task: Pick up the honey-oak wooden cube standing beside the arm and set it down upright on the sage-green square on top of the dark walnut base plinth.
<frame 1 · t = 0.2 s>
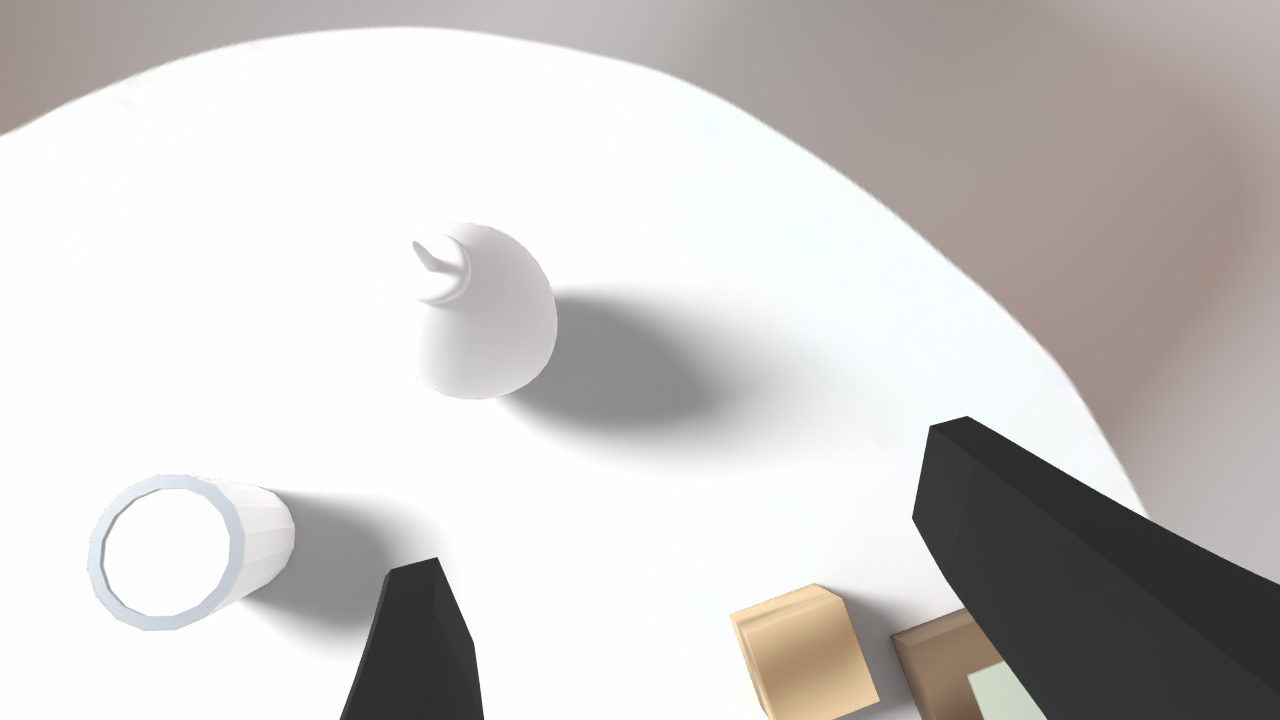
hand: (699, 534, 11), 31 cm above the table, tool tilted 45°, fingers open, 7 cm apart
oak cube: (787, 643, 40), on the table
white cup: (244, 537, 40), on the table
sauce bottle: (495, 341, 42), on the table
walnut base: (1020, 700, 40), on the table
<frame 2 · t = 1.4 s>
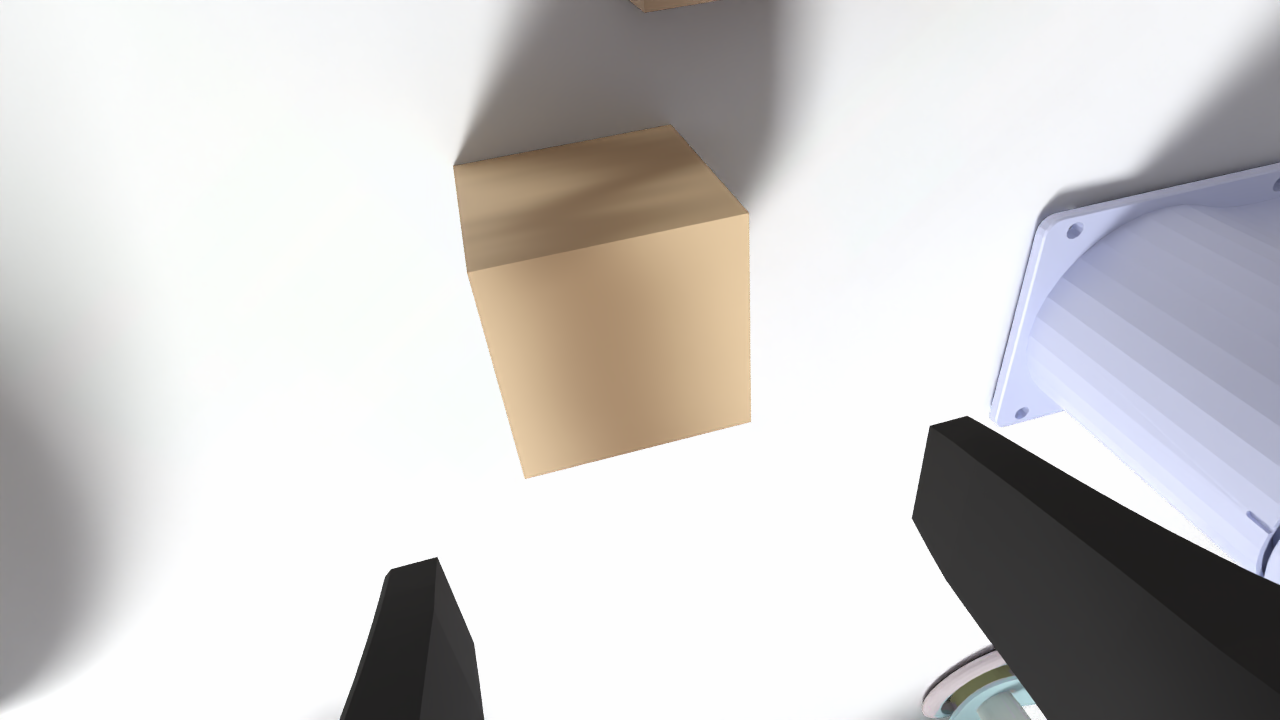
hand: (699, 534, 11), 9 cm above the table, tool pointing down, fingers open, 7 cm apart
oak cube: (580, 241, 18), on the table
pacifier: (974, 674, 39), on the table
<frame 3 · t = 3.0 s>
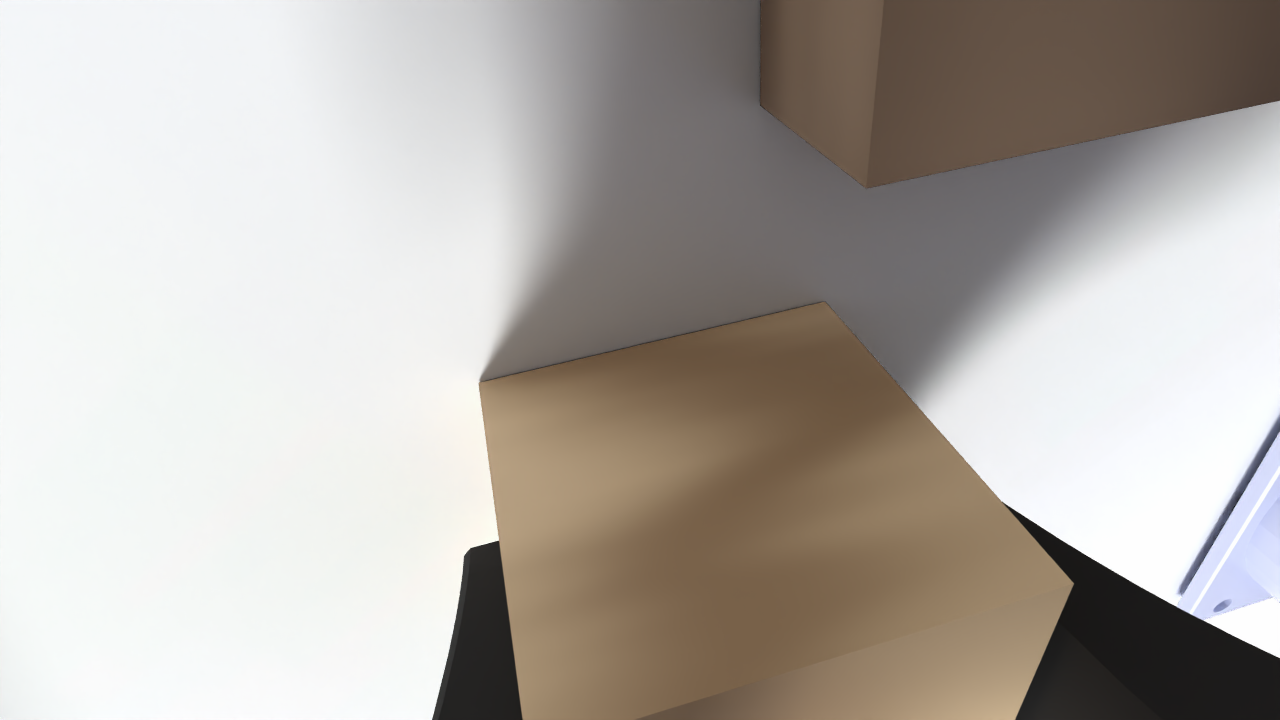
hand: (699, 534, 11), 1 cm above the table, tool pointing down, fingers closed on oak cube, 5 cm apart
oak cube: (670, 467, 12), on the table, touching gripper
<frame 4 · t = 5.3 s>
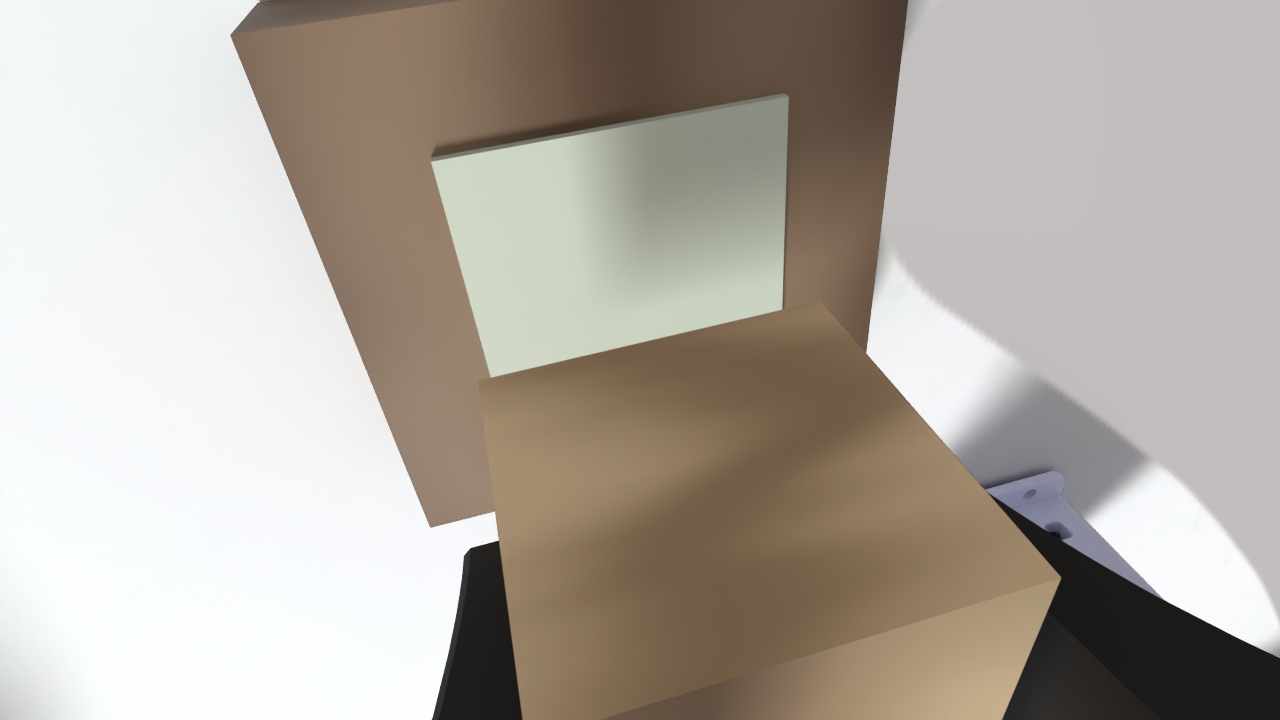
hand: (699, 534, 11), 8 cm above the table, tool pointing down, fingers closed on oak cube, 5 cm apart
oak cube: (668, 464, 12), point 7 cm above the table, touching gripper
walnut base: (605, 227, 17), on the table
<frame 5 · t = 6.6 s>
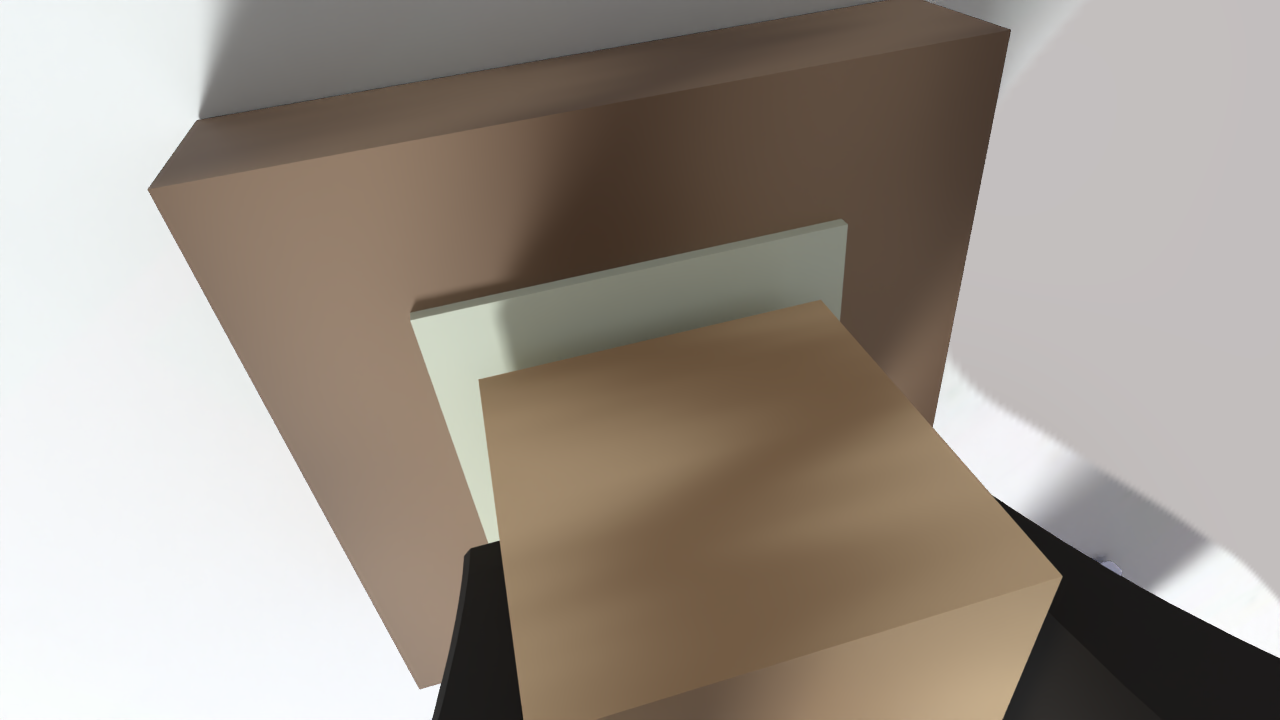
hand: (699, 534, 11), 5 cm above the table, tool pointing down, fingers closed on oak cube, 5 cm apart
oak cube: (668, 463, 12), point 3 cm above the table, touching gripper
walnut base: (620, 345, 14), on the table
when the fingers open (5 cm above the table, at t = 7.5 s): oak cube stays where it is, resting on walnut base.
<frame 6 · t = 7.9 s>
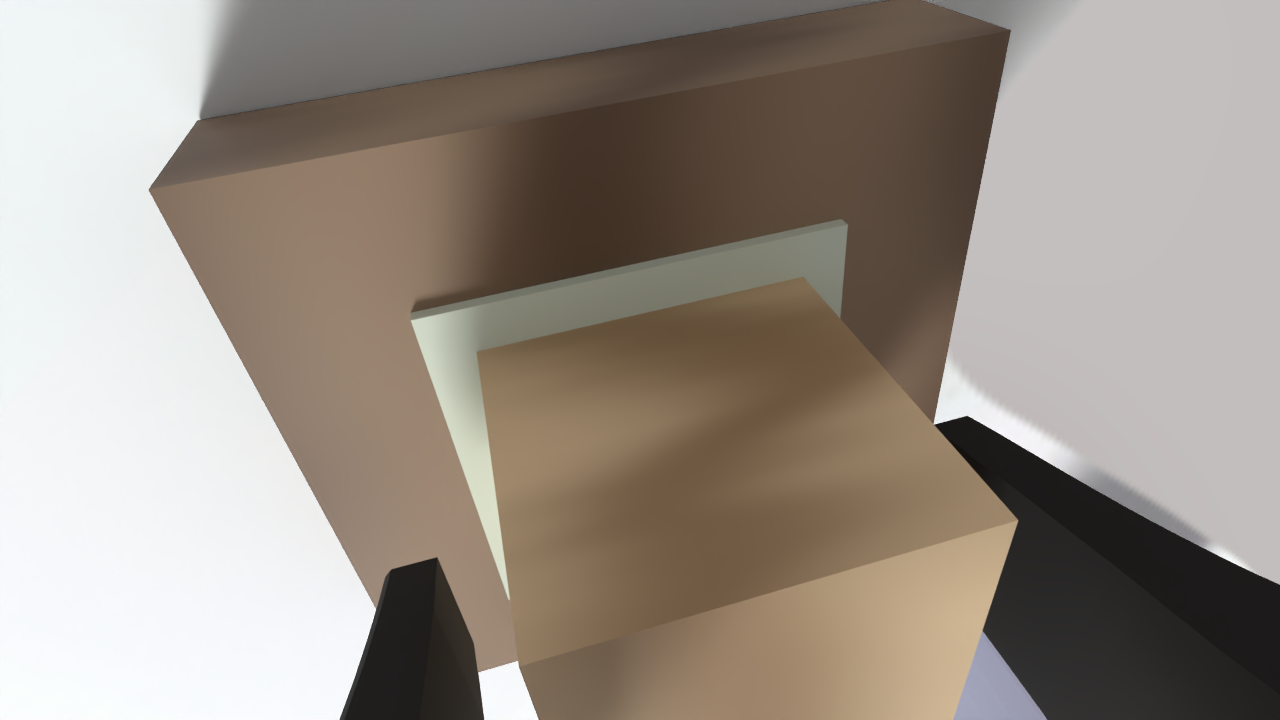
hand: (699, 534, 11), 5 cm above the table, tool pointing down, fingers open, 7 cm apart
oak cube: (659, 436, 12), point 3 cm above the table, touching walnut base
walnut base: (620, 345, 14), on the table
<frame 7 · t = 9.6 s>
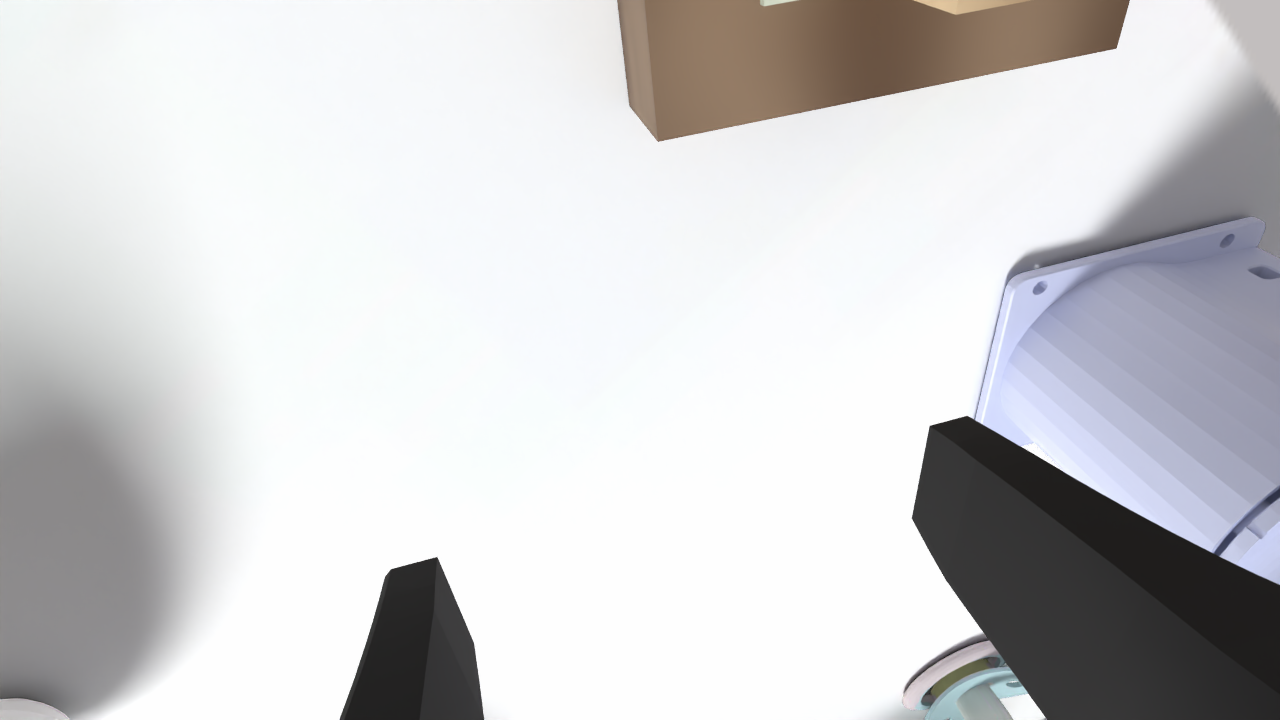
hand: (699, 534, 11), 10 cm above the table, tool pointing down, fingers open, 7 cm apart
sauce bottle: (17, 708, 24), on the table
pacifier: (953, 668, 40), on the table
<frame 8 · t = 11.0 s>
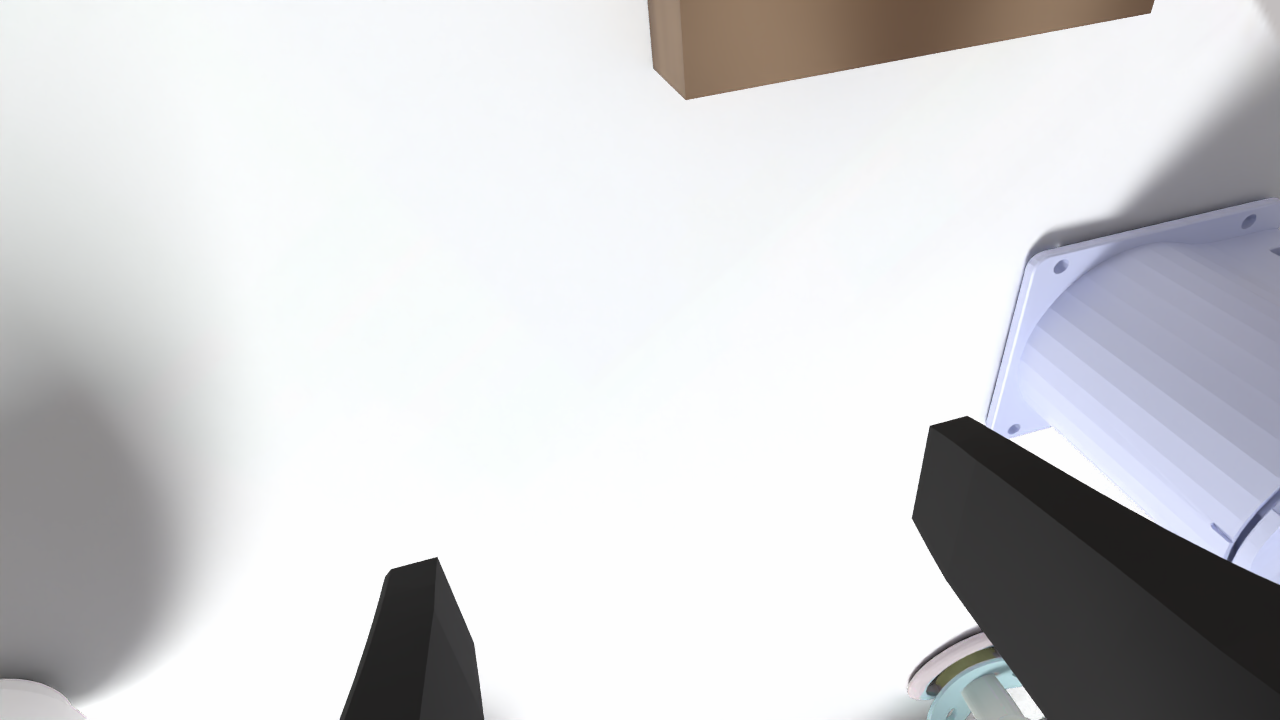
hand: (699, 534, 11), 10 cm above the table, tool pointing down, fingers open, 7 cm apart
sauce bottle: (15, 690, 23), on the table
pacifier: (959, 657, 39), on the table
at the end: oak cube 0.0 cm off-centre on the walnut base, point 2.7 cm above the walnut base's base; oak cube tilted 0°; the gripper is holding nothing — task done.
